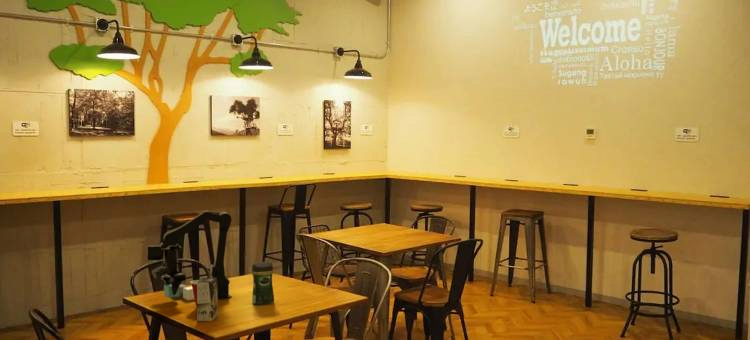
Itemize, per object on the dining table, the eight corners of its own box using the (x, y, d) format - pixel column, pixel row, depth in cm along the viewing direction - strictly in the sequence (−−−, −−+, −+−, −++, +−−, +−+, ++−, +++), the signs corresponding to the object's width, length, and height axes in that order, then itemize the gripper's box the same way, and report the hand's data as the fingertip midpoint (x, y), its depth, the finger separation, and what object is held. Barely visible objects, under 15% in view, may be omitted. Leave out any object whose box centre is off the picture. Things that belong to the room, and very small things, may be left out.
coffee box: (212, 321, 278) (212, 282, 277) (197, 321, 278) (196, 282, 277) (218, 315, 287) (217, 277, 286) (203, 315, 287) (202, 277, 286)
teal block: (179, 296, 308) (179, 285, 308) (168, 298, 305) (168, 287, 305) (174, 294, 312) (174, 283, 312) (164, 295, 309) (163, 285, 309)
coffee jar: (271, 299, 312) (271, 259, 311) (275, 304, 304) (275, 263, 303) (250, 302, 308) (249, 261, 307) (254, 306, 301) (253, 264, 300)
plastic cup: (220, 305, 302) (220, 279, 301) (207, 312, 291) (206, 284, 291) (199, 303, 305) (199, 277, 304) (185, 309, 295) (185, 282, 294)
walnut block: (187, 296, 318) (187, 286, 318) (177, 298, 315) (177, 287, 315) (182, 294, 322) (182, 284, 322) (172, 296, 319) (172, 285, 319)
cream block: (198, 298, 314) (197, 288, 314) (187, 300, 311) (187, 289, 311) (193, 296, 318) (193, 286, 318) (183, 298, 315) (183, 287, 315)
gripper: (145, 258, 309) (146, 292, 311) (162, 265, 295) (163, 300, 296) (168, 255, 317) (169, 289, 318) (186, 261, 303) (187, 296, 304)
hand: (171, 293), depth 309 cm, fingers closed on teal block, 5 cm apart
